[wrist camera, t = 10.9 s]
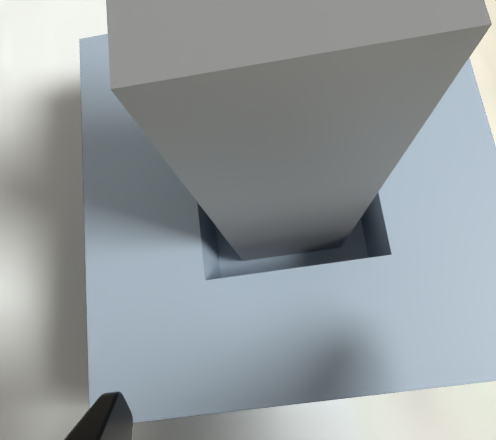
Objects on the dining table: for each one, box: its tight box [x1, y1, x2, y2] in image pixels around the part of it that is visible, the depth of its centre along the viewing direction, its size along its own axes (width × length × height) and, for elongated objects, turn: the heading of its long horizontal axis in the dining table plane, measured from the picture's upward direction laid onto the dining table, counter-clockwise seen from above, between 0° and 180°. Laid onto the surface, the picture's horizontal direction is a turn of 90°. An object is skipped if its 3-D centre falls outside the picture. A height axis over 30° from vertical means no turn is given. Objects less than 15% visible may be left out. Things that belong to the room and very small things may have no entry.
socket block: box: [79, 34, 496, 423], centre depth 16 cm, size 14×14×4 cm
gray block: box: [106, 0, 491, 261], centre depth 11 cm, size 4×4×13 cm
